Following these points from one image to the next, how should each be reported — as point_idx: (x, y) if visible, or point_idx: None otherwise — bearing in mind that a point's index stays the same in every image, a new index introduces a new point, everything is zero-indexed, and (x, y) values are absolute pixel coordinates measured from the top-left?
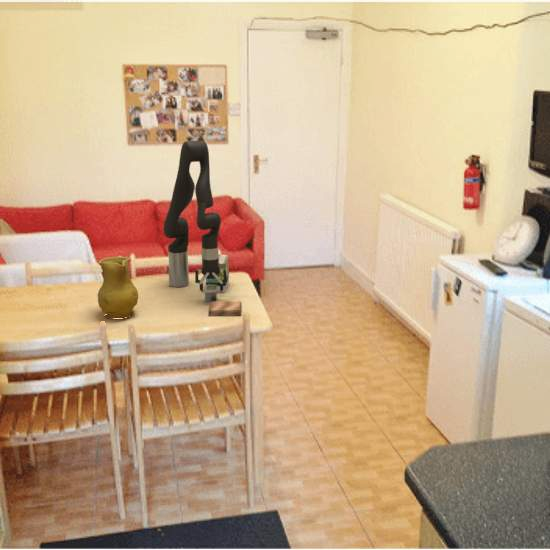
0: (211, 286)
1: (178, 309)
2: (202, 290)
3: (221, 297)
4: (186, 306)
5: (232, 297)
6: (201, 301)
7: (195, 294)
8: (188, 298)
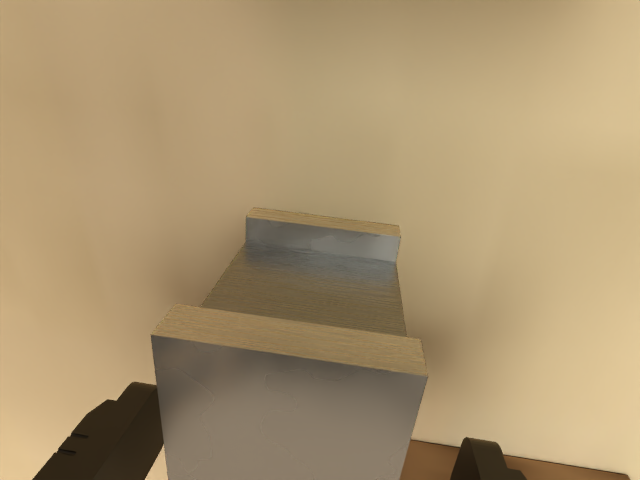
0: (292, 466)
1: (33, 428)
2: (148, 461)
3: (467, 199)
4: (80, 386)
5: (631, 223)
6: (204, 293)
7: (75, 9)
8: (28, 173)
